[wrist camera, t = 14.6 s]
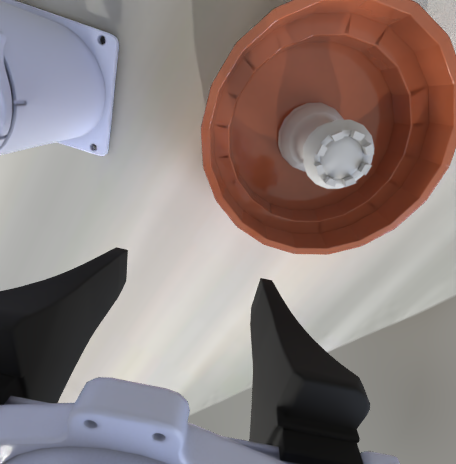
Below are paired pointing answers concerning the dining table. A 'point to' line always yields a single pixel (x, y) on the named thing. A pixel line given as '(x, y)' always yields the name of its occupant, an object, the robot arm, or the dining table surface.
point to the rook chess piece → (326, 145)
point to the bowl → (347, 105)
